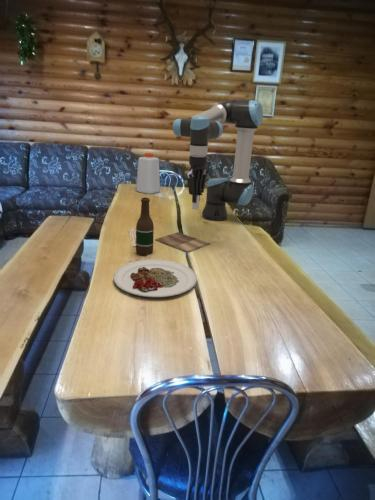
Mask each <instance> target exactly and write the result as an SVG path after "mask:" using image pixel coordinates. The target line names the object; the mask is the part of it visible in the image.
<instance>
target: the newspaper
mask: <svg viewBox="0 0 375 500" xmlns="http://www.w3.org/2000/svg"><path fill="white" fill-rule="evenodd" d="M128 235H129V236H128V237H129V238H130V242H131V247H136V228H130V229H128Z"/></svg>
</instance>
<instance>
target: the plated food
mask: <svg viewBox="0 0 375 500" xmlns="http://www.w3.org/2000/svg"><path fill="white" fill-rule="evenodd" d="M112 278H113V282H114V284H115V285H116V286H117V287H118V288H119V289H121V290H122V291H123V292H126V293H128V294H132V295H134V296H140V297H146V298H147V297H148V298H166V297H167V298H168V297H172V296H173V297H175V296H176V295H181V294H183V293H186V292H188V291H189V290H191V289H192V288H193V287H194V286H195V285H196V283H197V274H196V272H195V271H194V270H193V269H192V268H190V267H189V266H187V265H185V264H183V263H180V262H178V261H177V262H176V261H174V260H169V259H168V260H167V259H160V258H159V259H158V258H150V259H147V258H146V259H140V260H134V261H131V262H128V263H126V264H123V265H121V266H120V267H118V268H117V269H116V270H115V272H114V273H113V277H112Z"/></svg>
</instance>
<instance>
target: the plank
mask: <svg viewBox="0 0 375 500" xmlns="http://www.w3.org/2000/svg"><path fill="white" fill-rule="evenodd" d="M210 245H211V242H209V241H206V240H202V239H199V238H196V239H195V240H192V241H189V242H186V243H183V244H180V245H177V246H174V248H173V249H176V250H179V251H181V252H184V253H186V254H189V253H192V252H194V251H198V250H200V249H203V248H205V247H207V246H210Z"/></svg>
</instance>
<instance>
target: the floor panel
mask: <svg viewBox="0 0 375 500" xmlns="http://www.w3.org/2000/svg"><path fill="white" fill-rule="evenodd" d="M195 239H197V238H196V237H193V236H191V235H188V234H184V233H182V232H180V231H179V232H178V231H177V232H174V233H171V234H169V235H168V234H167V235H164V236H162V237H158V238H155V239H154V241H155V242H158V243H160V244H162V245H165V246H168V247H170V248H173V249H175V248H174V246H177V245H180V244H183V243H186V242H189V241H192V240H195Z"/></svg>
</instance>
